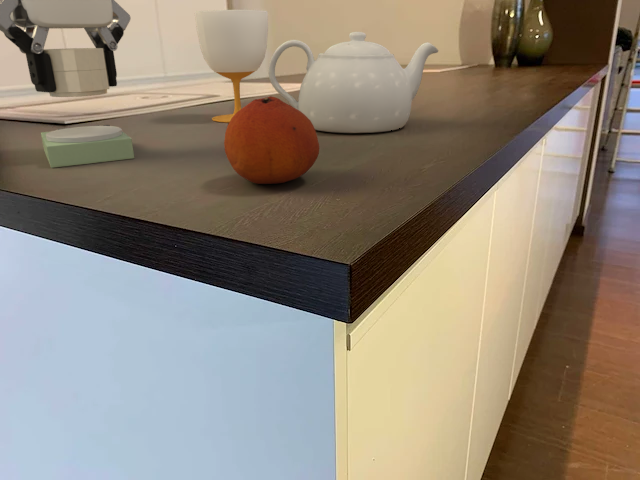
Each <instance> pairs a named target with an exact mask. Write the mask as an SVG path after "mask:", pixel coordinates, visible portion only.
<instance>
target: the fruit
mask: <svg viewBox="0 0 640 480" xmlns="http://www.w3.org/2000/svg"><path fill="white" fill-rule="evenodd" d="M318 139H319V137H318V134H317V130H315V128H314V126H313V124H312V122H311V121H310V120H309V119H308V118H307V116H305V115H304V114H303V113H302V112H301V111H299V110H298V109H296V108H294V107H292V105H291V104H289V103H287V102H284V101H283V100H281V99H280V98H278V97H275V96H272V95H270V96H267V97H262V98H256V99H253V100H251V101H250V102H249V103H247V104H246V105H245V106H243V107H241V110H239V111H238V112H237V113H236V114H235V115H234V116H233V117H232V118H231V120H230V122H229V123H227V126H226V129H225V132H224V140H223V142H224V143H223V145H224V152H225V156H226V158H227V160H228V162H229V163H230V166H231V167H232V169H233V170H234V172H236V174H238V176H240V177H242V178H244V179H245V180H247V181H249V182H250V183H253V184H256V185H257V184H258V185H271V184H274V185H275V184H285V183H287V182H290V181H293V180H296V179H298V178H300V177H302V176H303V175H304V174H305V173H307V172H308V171H309V170H310V169H311V168H312V167H313V166H314V164H315V163H316V161H317V159H318V158H319V157H318V156H319V154H320V142H319V140H318Z"/></svg>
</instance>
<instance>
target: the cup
mask: <svg viewBox="0 0 640 480" xmlns="http://www.w3.org/2000/svg"><path fill="white" fill-rule="evenodd" d="M194 19H195V26H196V27H195V28H196V32H197V38H198V43H199V47H200V50H201V53H202V57H203V59H204V61H205V62H206V64H207V65H208V67H209V69H211V70H212V71H213V72H214V73H216V74H218V75H220V76H222V77H223V78H226V79H228V80H230V81H231V83H232V89H233V95H234V96H233V98H234V109H233V113H228V114H221V115H216V116H213V117H212V118H211V120H212V121H213V122H216V123H226V124H229V122H230V120H231V118H232V117H233V116H234V115H235V114H236V113H237V112H238V111H239V110H241V109H242V102H241V81H242V80H243V79H245V78H246V77H248V76H250V75H252V74H254V73H255V72H256V71H258V70H259V69H260V67H261V65H262V64H263V62H264V60H265V59H266V52H267V48H268V34H269V11H268V10H264V9H263V10H262V9H209V10H198V11H197V10H196V11H194Z"/></svg>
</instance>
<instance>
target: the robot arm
mask: <svg viewBox="0 0 640 480" xmlns="http://www.w3.org/2000/svg"><path fill="white" fill-rule="evenodd" d="M130 22H131V15H130V14H129V12H127V10H125V8H123V7H122V6H121V5H120V4H119V3H118V2H117V1H116V0H0V32H2V33H3V34H4V37H5V38H7V39H8V40H9V41H10V42H11V43H12V44H14V45H15V46H16V47H17V48H18V49H19V51H20V52H21V53H22V54H25V59H26V63H27V67H28V72H29V78H30V81H31V84H32V85H34V88H35V91H36V92H37V93H49V92H55V91H56V86H55V80H54V75H53V70H52V64H51V59H50V56H49V55H48V54H44V49H45V45H46V41H47V38H48V34H49V31H50V29H84V31H85V32H86V34H87V35H88V37H89V39H90V40H91V43H92V44H93V46H94V48H104V53H105V60H106V66H107V73H108V79H109V86H110V88H111V87H117V86H118V81H117V80H118V79H117V76H118V72H117V65H116V59H115V53H114V52H115V51H117V50H118V44H119V43H120V41H121V39H122V38H123V37H124V35H125V31H126V29H127V27H128V26H129V24H130ZM109 25H110V26H109ZM108 26H109V27H108ZM22 28H23V29H22Z"/></svg>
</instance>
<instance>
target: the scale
mask: <svg viewBox="0 0 640 480" xmlns="http://www.w3.org/2000/svg"><path fill="white" fill-rule="evenodd" d="M40 136H41V141H42V147H43V151H44V154H45V157H46V159H47V162H48V164H49V167H50V168H51V169H54V168H62V167H71V166H79V165H81V166H82V165H88V164H97V163H105V162H106V163H107V162H115V161H123V160H131V159H132V160H133V159H135V153H134V145H133V138H132V137H130V136H129V135H128V134H127V133H126V132H124V131H123V129H122V127H119V126H115V125H110V124H104V125H99V124H97V125H96V124H95V125H87V126H85V125H84V126H75V127H74V126H73V127H64V128H57V129H56V130H55V129H54V130H51V131H45V132H44V131H42V132H40Z"/></svg>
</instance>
